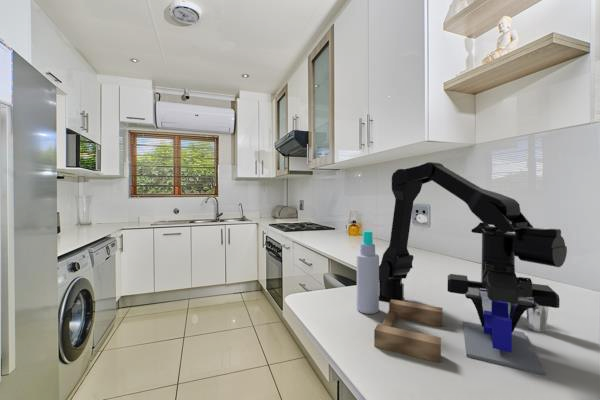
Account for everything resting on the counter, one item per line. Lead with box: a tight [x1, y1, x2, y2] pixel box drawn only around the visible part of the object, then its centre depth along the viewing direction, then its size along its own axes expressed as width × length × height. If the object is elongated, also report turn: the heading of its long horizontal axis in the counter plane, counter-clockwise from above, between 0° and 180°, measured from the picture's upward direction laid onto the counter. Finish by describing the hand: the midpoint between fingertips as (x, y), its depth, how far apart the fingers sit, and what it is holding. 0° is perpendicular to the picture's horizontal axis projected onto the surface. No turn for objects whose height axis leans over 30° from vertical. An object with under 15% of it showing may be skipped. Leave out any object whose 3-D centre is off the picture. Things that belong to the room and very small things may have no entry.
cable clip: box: [484, 301, 512, 353], centre depth 59 cm, size 12×4×6 cm, turn 146°
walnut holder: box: [373, 299, 443, 364], centre depth 64 cm, size 12×20×4 cm, turn 152°
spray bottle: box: [356, 230, 380, 315], centre depth 77 cm, size 6×6×22 cm
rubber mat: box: [462, 320, 546, 376], centre depth 59 cm, size 12×16×1 cm
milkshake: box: [525, 301, 550, 333], centre depth 66 cm, size 4×5×10 cm
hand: (496, 328), depth 59 cm, fingers closed on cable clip, 4 cm apart
